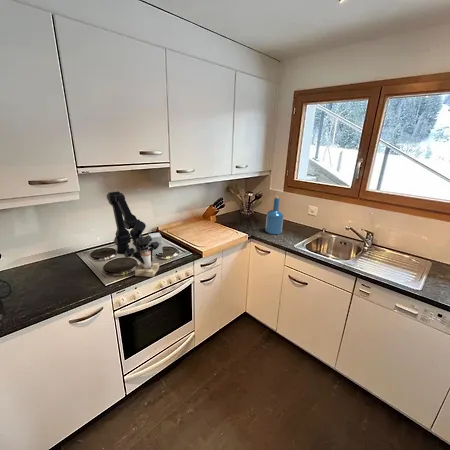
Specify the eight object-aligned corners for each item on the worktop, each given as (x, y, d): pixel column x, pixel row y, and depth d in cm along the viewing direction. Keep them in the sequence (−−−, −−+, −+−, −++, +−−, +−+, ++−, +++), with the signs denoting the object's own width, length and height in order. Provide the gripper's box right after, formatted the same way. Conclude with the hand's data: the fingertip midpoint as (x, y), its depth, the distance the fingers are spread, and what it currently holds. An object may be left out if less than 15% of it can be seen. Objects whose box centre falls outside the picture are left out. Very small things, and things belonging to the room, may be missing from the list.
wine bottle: (276, 228, 220) (280, 194, 210) (284, 234, 208) (289, 198, 198) (262, 230, 216) (265, 194, 206) (269, 235, 204) (273, 198, 194)
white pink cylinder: (141, 273, 143) (140, 253, 139) (145, 269, 147) (143, 250, 143) (150, 274, 142) (148, 254, 138) (153, 269, 147) (151, 250, 143)
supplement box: (151, 256, 164) (150, 237, 160) (148, 251, 170) (147, 233, 166) (162, 254, 167) (161, 236, 163) (160, 249, 173) (159, 232, 169)
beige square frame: (135, 276, 141) (134, 270, 139) (142, 267, 150) (142, 262, 149) (153, 277, 140) (152, 272, 139) (159, 268, 149) (158, 263, 148)
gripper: (124, 235, 134) (135, 262, 130) (157, 228, 146) (167, 252, 142) (120, 244, 142) (130, 270, 138) (151, 236, 154) (161, 260, 150)
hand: (148, 262), depth 142 cm, fingers closed on white pink cylinder, 4 cm apart
